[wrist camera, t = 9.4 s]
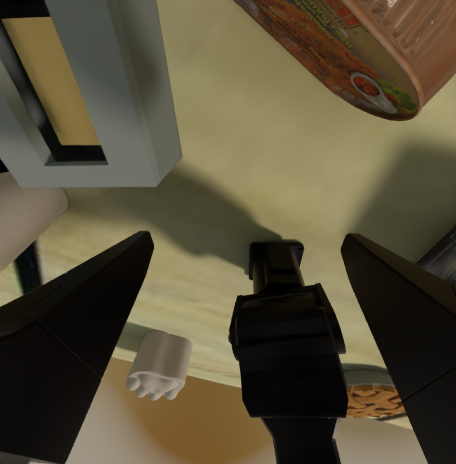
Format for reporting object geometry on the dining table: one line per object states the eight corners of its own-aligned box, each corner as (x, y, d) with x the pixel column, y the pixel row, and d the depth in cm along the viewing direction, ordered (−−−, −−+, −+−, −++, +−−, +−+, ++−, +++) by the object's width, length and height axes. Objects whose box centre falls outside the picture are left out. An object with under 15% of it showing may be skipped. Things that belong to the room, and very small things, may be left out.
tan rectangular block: (136, 131, 17) (103, 145, 13) (103, 131, 18) (61, 144, 14) (111, 37, 14) (56, 16, 10) (71, 38, 14) (1, 18, 10)
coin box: (182, 157, 19) (155, 186, 13) (84, 159, 20) (21, 187, 14) (152, -21, 13) (76, -109, 7) (9, -8, 13) (-163, -77, 8)
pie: (290, 382, 52) (294, 407, 48) (369, 357, 40) (383, 387, 36) (344, 403, 58) (352, 426, 54) (425, 385, 47) (442, 413, 43)
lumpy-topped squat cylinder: (197, 341, 41) (188, 392, 34) (178, 362, 49) (167, 408, 42) (149, 326, 39) (128, 378, 32) (136, 350, 46) (117, 397, 39)
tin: (196, -34, 12) (136, -186, 5) (223, -115, 11) (184, -479, 4) (359, 118, 16) (440, 140, 9) (397, 76, 15) (528, 68, 8)
